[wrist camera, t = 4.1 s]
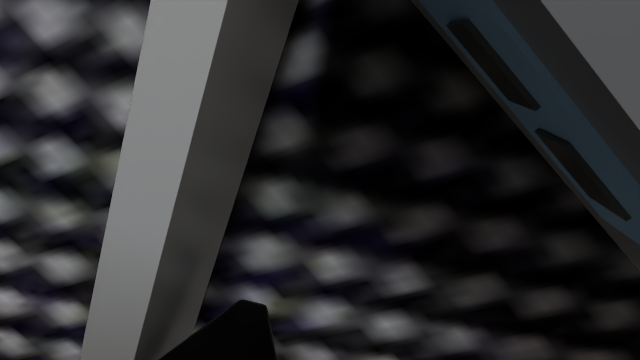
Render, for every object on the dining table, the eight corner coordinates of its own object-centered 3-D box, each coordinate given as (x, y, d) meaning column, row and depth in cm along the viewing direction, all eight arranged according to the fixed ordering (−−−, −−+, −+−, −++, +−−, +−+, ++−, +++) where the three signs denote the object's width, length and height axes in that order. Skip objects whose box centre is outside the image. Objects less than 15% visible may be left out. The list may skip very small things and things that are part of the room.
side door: (199, 331, 11) (97, 531, 6) (146, 313, 11) (6, 503, 6) (332, -83, 7) (310, -257, 3) (257, -113, 7) (120, -341, 3)
